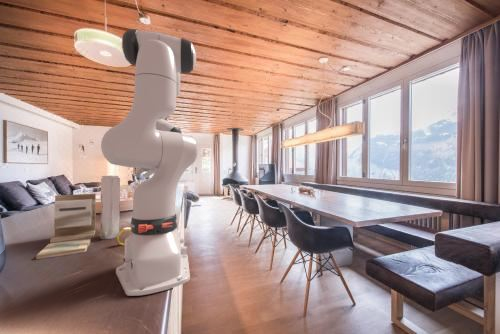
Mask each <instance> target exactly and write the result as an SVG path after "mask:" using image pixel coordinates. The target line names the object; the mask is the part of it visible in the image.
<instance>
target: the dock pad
mask: <svg viewBox="0 0 500 334" xmlns="http://www.w3.org/2000/svg"><path fill="white" fill-rule="evenodd" d="M91 242H92V238H84V239H76V240H68V241H60V242H53V243H50V242H49V243H48V244H47V245H46V246H45V247H43V248H42V250H40V251H39V252H38V253H37V254H36V256H35V259H36V260H42V259H48V258H56V257H61V256H67V255H75V254H79V253H85V252H86V251H87V250H88V248H89V247H90V244H91Z"/></svg>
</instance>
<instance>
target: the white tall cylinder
mask: <svg viewBox="0 0 500 334" xmlns="http://www.w3.org/2000/svg"><path fill="white" fill-rule="evenodd" d="M120 203H121V178H120V177H119V175H102V176H101V178H100V239H101V240H111V239H115V238H116V239H117V237H118V234H119V232H120V231H121V229H120V228H121V227H120V224H121V223H120V220H121V218H120V217H121V216H120V215H121V209H120V208H121V204H120Z"/></svg>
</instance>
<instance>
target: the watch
mask: <svg viewBox="0 0 500 334" xmlns="http://www.w3.org/2000/svg"><path fill="white" fill-rule="evenodd" d="M128 231H131V226H129V227H123V228H122V229H121V230H120V232H119V234H118V237H116V239H117V242H118V244H119V245H121V246H125V242H121V241H120V236H121V235H122V233H124V232H128Z"/></svg>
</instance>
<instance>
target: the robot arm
mask: <svg viewBox="0 0 500 334" xmlns="http://www.w3.org/2000/svg"><path fill="white" fill-rule="evenodd" d="M121 49H122V53H123V55H124V58H125V60H126V61H127V62H128V63H129V64H131V65H133V66H135V69H134V93H133V100H132V106H131V109H130V111H129V112H128V114H127V116H126V117H125V118H124V119H122V121H120V122H119V123H118V124H115V125H114V126H112V127H111V128H109V129H108V130H107V131H105V133H104V134H103V137H102V139H101V143H100V150H101V153H102V155H103V157H104V159H106V161H107V162H108V163H110V164H111V165H115V166H121V167H127V168H137V170H136V173H134V177H135V178H139V177H141V175H143V177H144V178H145V179H147V180H144V181H143V182H141V183H140V184H138V185H137V186H136V187H135V188H134V190H133V193H132V194H133V195H132V199H133V200H132V217H131V218H130V219H131V220H130V227H131V230H130V231H131V233H130V234H129V235H128V236H127V237H126V238H125V240H124V243H125V245H124V257H123V264H122V265H119V266H117V267H116V268H115V275H116V276H117V279H118V280H119V282H120V284H121V287H122V289H123V291H124V294H125V295H126V296H128V297H129V296H130V297H131V296H132V297H133V296H135V297H136V296H145V295H151V294H155V293H159V292H163V291H168V290H169V289H170V290H171V289H173V288H177V287H179V286H181V285H183V284H185V283H187V282H189V280H191V275H190V274H191V273H190V272H191V271H190V266H189V265H190V264H189V256H188V247H187V246H186V245H185V246H184V245H183V246H181V244H185V243H184V238H183V237H182V238H181V231H180V230H179V229H178V218H177V214H176V195H177V189H178V185H179V182H180V179H181V177H182V175H183V174H184V172H185V171H186V170H187V169H188V168H189V167H191V166H192V165H193V164H194V163H195V161H196V159H197V158H198V155H199V153H198V152H199V148H198V143H197V142H196V140H195V139H194V137H192V136H190V135H187V134H185V133H184V132H183V131H182V130H181V128H180V127H179V126H178V125H175V124H173V123H171V122H169V121H167V120H165V118H168V117H170V116H171V115H172V114H174V112H175V111H176V110H177V98H178V97H179V95H180V93H181V74H183V75H184V74H190V73H191V72H192V71H194V68H195V66H196V64H197V63H196V62H197V52H196V50H195V47H194V44H193V43H192V41H190V40H188V39H186V38H183V37H181V38H179V37H176V36H173V35H169V34H165V33H162V32H157V31H149V30H139V29H134V28H131V29H127V30H126V31H125V32H124V33H123V34H122V40H121ZM144 172H145V173H144ZM143 173H144V174H143ZM148 178H149V179H148Z"/></svg>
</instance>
